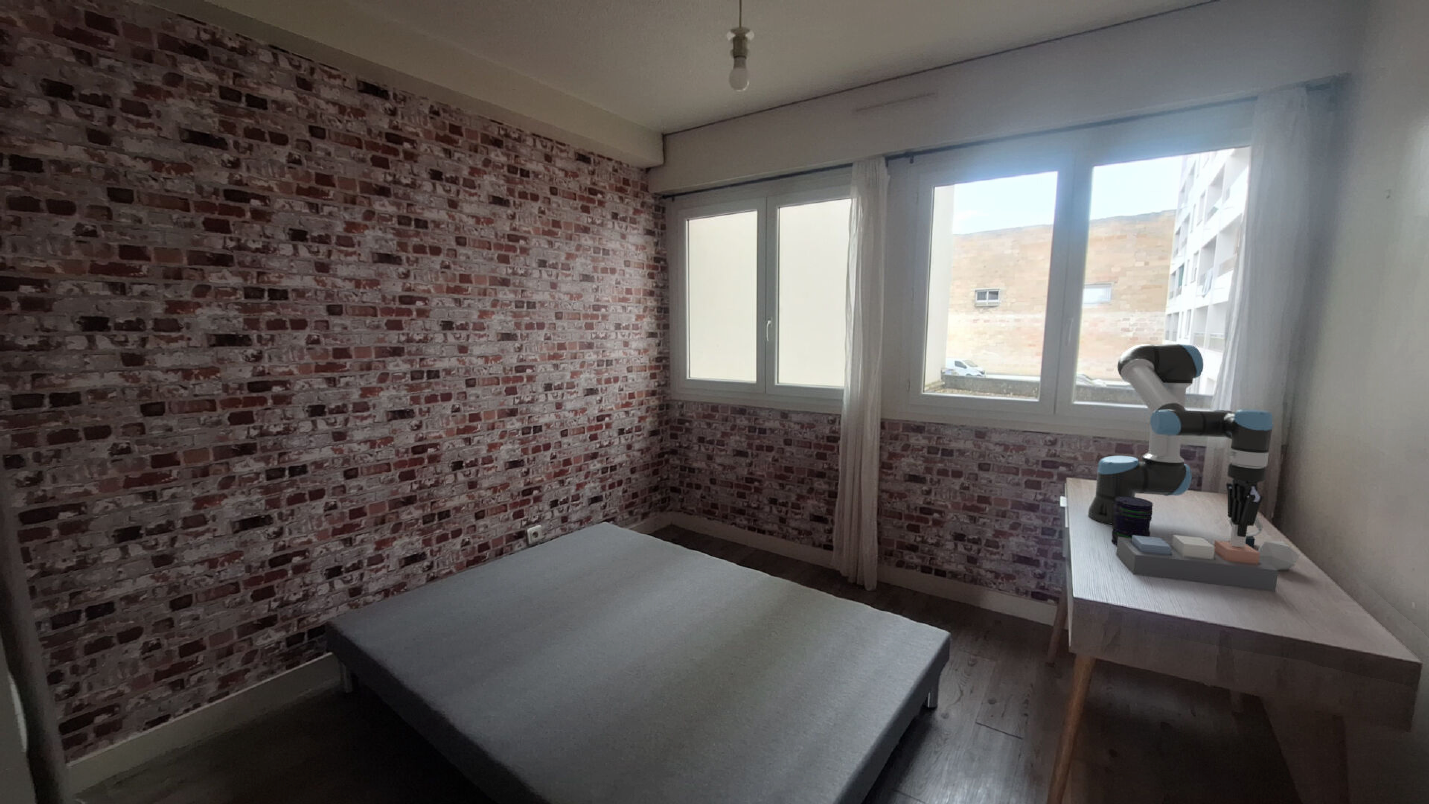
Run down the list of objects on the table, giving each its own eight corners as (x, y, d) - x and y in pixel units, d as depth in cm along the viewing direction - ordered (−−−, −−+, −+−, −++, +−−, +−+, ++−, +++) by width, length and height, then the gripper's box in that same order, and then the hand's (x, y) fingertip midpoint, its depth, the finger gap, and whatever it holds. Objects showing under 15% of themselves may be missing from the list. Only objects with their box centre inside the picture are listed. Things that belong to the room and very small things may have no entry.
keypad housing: (1116, 554, 170) (1117, 536, 169) (1245, 569, 159) (1247, 550, 158) (1133, 574, 157) (1135, 554, 156) (1275, 591, 146) (1278, 570, 145)
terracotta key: (1212, 556, 158) (1214, 540, 158) (1243, 559, 156) (1245, 543, 155) (1225, 566, 152) (1228, 549, 151) (1257, 570, 149) (1260, 553, 149)
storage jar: (1133, 538, 182) (1137, 496, 180) (1156, 550, 173) (1161, 505, 170) (1103, 538, 182) (1107, 496, 180) (1125, 550, 173) (1129, 505, 171)
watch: (1262, 549, 172) (1266, 516, 171) (1227, 543, 177) (1231, 511, 176) (1258, 544, 177) (1263, 511, 175) (1225, 538, 182) (1229, 507, 180)
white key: (1171, 550, 162) (1173, 535, 161) (1200, 553, 159) (1202, 537, 158) (1182, 560, 155) (1184, 543, 154) (1212, 563, 153) (1214, 547, 152)
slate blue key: (1130, 550, 165) (1132, 535, 164) (1158, 553, 163) (1160, 538, 162) (1139, 560, 159) (1141, 543, 158) (1169, 563, 156) (1170, 547, 155)
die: (1275, 563, 164) (1252, 536, 166) (1311, 559, 157) (1287, 531, 158) (1267, 578, 160) (1244, 551, 162) (1303, 576, 153) (1279, 547, 154)
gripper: (1218, 458, 157) (1208, 536, 160) (1243, 469, 145) (1233, 553, 148) (1250, 460, 155) (1240, 539, 158) (1279, 472, 142) (1268, 556, 146)
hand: (1237, 545), depth 153 cm, fingers closed
